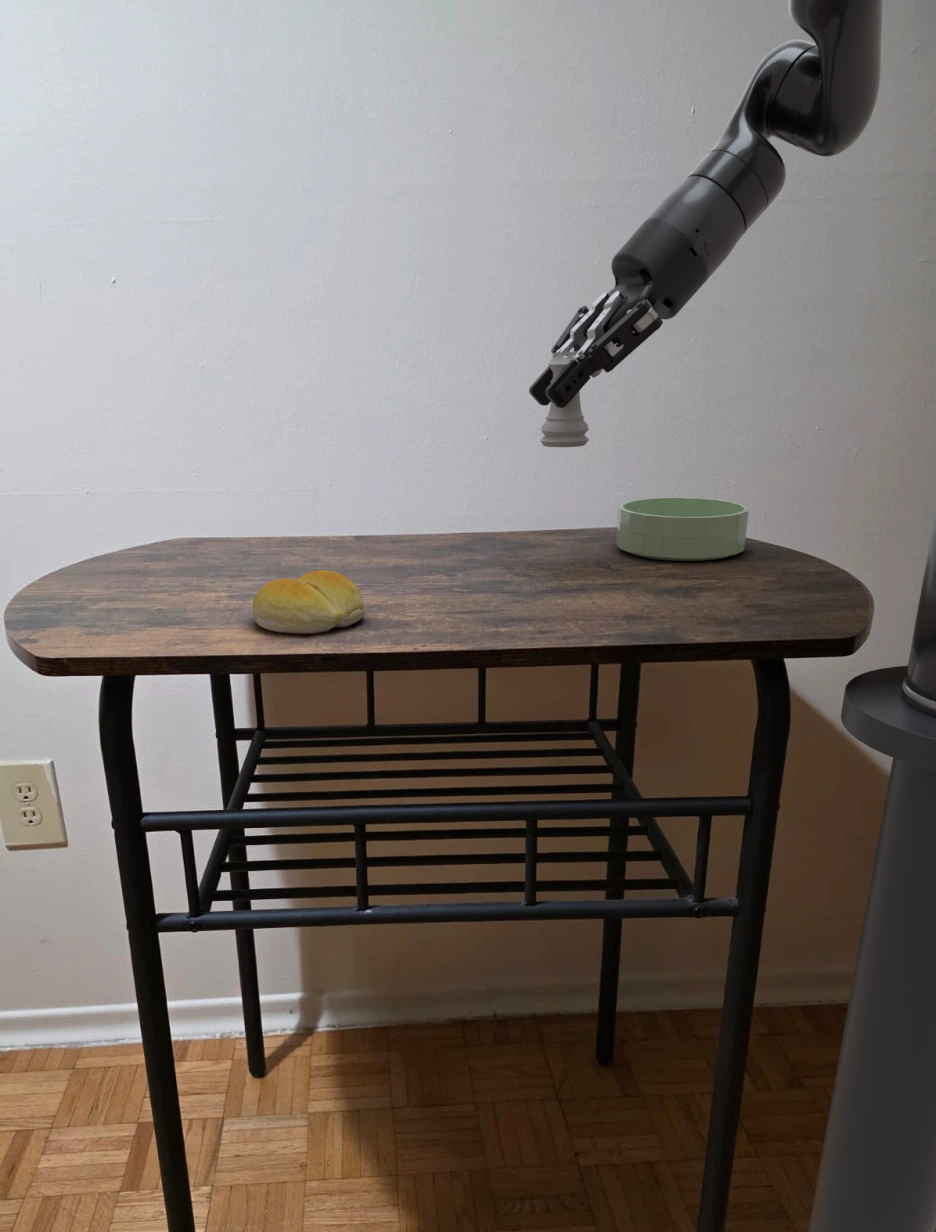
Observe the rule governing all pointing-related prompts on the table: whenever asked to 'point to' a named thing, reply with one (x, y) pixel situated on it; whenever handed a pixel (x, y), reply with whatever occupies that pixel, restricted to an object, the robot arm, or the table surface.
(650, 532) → the bowl
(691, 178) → the robot arm
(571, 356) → the rook chess piece
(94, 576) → the table surface
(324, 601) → the bread roll
